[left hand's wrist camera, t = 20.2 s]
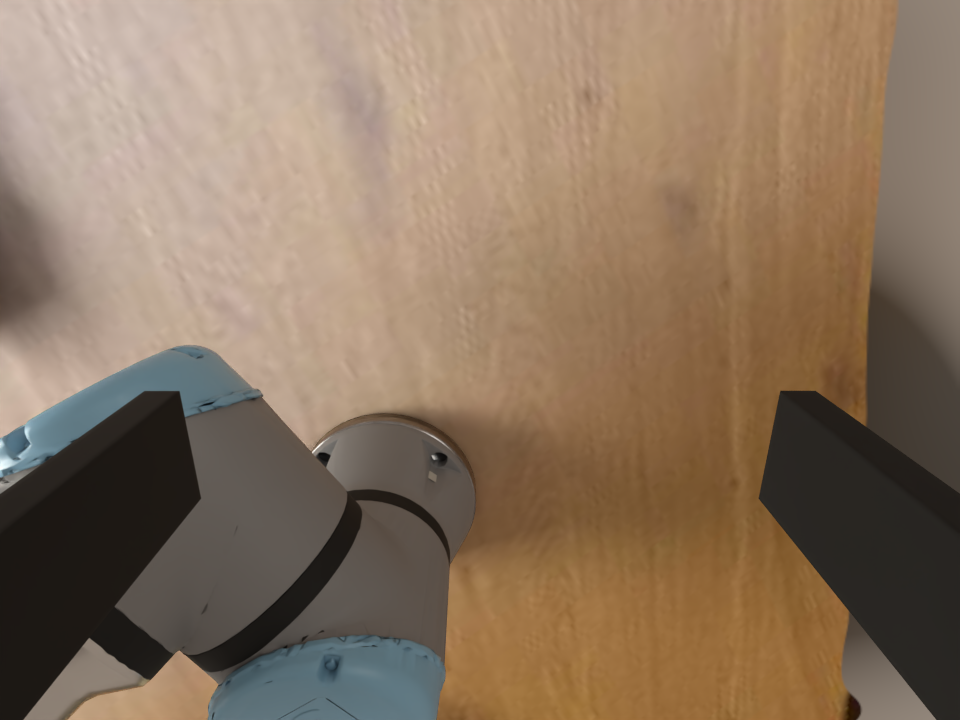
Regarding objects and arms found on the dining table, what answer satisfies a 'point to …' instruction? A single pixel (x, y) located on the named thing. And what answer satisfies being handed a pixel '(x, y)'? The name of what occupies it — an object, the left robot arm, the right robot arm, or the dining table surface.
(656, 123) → the dining table surface
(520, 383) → the dining table surface
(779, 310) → the dining table surface
